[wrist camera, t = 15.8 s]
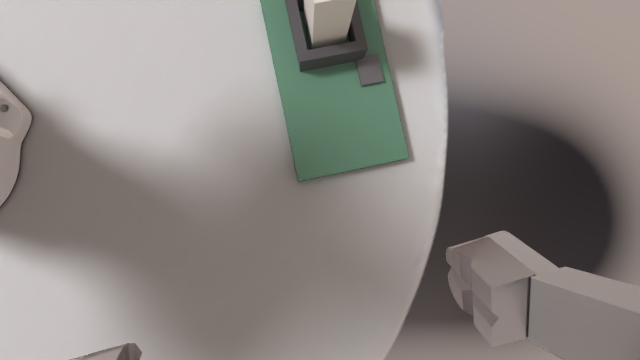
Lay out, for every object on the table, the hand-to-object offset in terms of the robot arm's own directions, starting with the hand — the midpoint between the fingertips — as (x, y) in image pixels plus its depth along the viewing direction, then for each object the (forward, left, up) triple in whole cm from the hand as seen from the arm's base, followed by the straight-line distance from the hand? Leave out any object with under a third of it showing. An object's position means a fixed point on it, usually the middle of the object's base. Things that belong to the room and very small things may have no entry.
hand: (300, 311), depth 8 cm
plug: (-16, +13, -24) cm, 31 cm away
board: (-11, +11, -25) cm, 29 cm away
